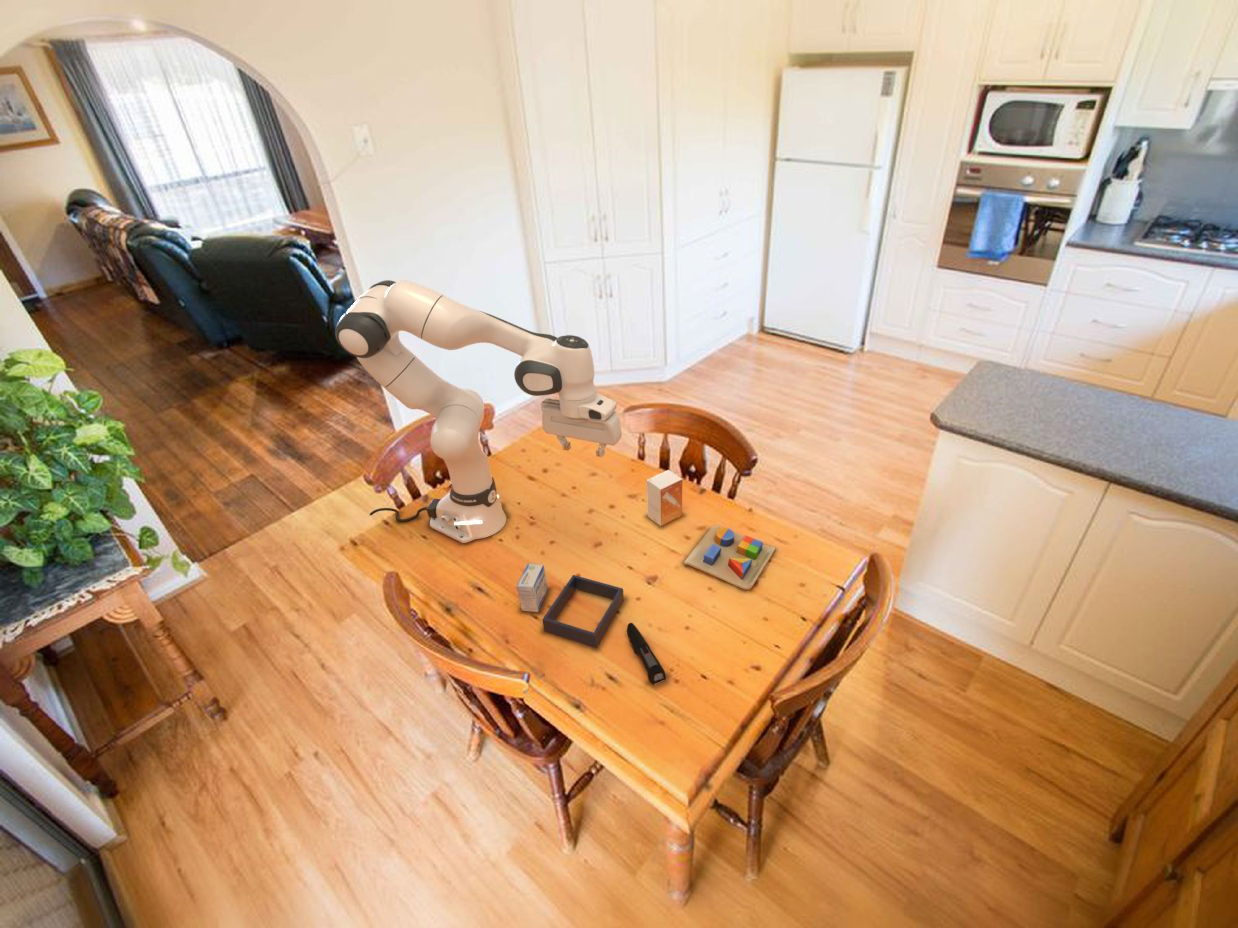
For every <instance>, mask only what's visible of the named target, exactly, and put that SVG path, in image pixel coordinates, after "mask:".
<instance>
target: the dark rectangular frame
mask: <svg viewBox="0 0 1238 928" xmlns="http://www.w3.org/2000/svg"><path fill="white" fill-rule="evenodd" d="M576 590H578V591H582V592H585V593H589V594H592V595H595V596H598V597H599V596H600V597H603V598H607V599H610V600H612V601H611V603H609V606H608V608H607V609H606V611H605V612H604V614H603V616H602V618H601V620H600V621H599V623H598V625H597V626H596V628H595V630H594V631H590V630H587V629H584V628H580V627H578V626H574V625H572V624H571V625H570V624H567V623H565V622H562V621H558V620H557V619H558V617H559V616H560V614H561V612H562V611H563V609H564V608H565V607H566V605H567V603H568V602H569V600H570V599H571V597H572V596H573V594H574V593H575V591H576ZM624 601H625V597H624V588H622V587H619V586H615V585H611V584H608V583H604V582H601V581H597V580H593V579H590V578H587V577H582V576H579V575H576V574H573V575H571V577H570V579H569V580H568V581H567V583H566V584H565V586H564V587H563V589H562V590H561V592H560V593H559V595H558V596H557V597H556V599H555V600H554V601H553V603H552V605H551V606H550V608H549V609H548V611H547V612H546V614H545V615H544V616H543V618H542V620H541V621H542V626H543V629H544V630H543V631H544V632H546V633H549V634H552V635H555V636H558V637H561V638H565V639H568V640H569V641H570V640H571V641H574V642H577V643H580V644H583V645H586V646H589V647H592V648H598V647H599V645H600V643H601V641H602V639H603V637H604V636H605V634H606V633H607V631H608V629H609V627H610V626H611V623H612V622H613V620H614V618H615V617H616V615H617V613H618V612H619V610H620V608H621V606H622V605H623V602H624Z"/></svg>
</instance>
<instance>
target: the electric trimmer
mask: <svg viewBox="0 0 1238 928" xmlns="http://www.w3.org/2000/svg"><path fill="white" fill-rule="evenodd" d="M626 626H627V627H626V633H627V637H628V640H629V642H630V644H631V647H632V649H633V652H634V654H635V655H637V656H638V657H639V658H640V661H641V662H642V664H643V666H644V668H645V670H646V673H647V677H648V680H649V682H650V683H652V685H657V684H660V683H662V682H665V681H666V679H667V676H666V672H665V669H664V668H663V666H662V665H661V663H660V661H659V660H658V659H657V657H656V655H655V653H654V652H653V651H652V650H651V646H650V645H649V643H648V642H647V641H646V639H645V638H644V636H643V635H642V633H641V632H640V630H639V629H638V627H637V626H636V625H635V624H634V623H633V622H629V623H628V624H627V625H626Z"/></svg>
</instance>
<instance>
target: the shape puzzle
mask: <svg viewBox="0 0 1238 928" xmlns="http://www.w3.org/2000/svg"><path fill="white" fill-rule="evenodd" d="M775 551H776V547H775V546H770V545H766V544H765V543H764V542H763V541H761V540H759V539H756V538H754V537H751V536H749V535H742V534H740V533H738V532H735V531H734V530H733V529H731V528H729V527H723V526H720V525H717V524H715V525H712V526H711V527H710V528H709V529H708V530H707V532H706V533H705V534H704V536H703V537H702V538H701V540H700V541H699V542H698V543H697V544H696V546H695V547H694V549H693V550H692V551H691V552H690V553H689V555H688V556H687V558H685V560H684V561H683V565H686V566H690V567H692V568H695V569H697V570H699V571H702V572H703V573H706V574H708V575H711V576H712V577H715V578H717V579H719V580H721V581H724V582H726V583H729V584H730V585H733V586H735V587H738V588H739V589H741V590H745V591H747V590H750V589H751V588H753V586H754V585H755V584H756V583H757V580H758V578H759V577H760V575H761V573H762V572H763V570H764V569H765V567H766V566H767V564H768V563H769V560H770V558H771V557H772V556H773V555H774V552H775Z"/></svg>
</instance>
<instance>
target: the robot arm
mask: <svg viewBox="0 0 1238 928" xmlns="http://www.w3.org/2000/svg"><path fill="white" fill-rule="evenodd" d="M400 331H401V332H402V331H403V332H406V333H408V334H411V335H413V336H415V337H417V338H418V339H420V340H422V341H424V342H425V343H428V344H430V345H431V346H433V347H434V346H435V347H437V348H440V349H443V350H447V351H456V350H459V349H460V350H461V349H463V348H466V347H467V346H468V347H469V346H472V345H475V344H483V343H486V344H492V345H495V346H497V347H499V348H502V349H504V350H505V351H509V352H511V353H514V354H516V355H519V356H520V357H521V358H520V360H518V361H519V362H518V363H517V365H516V367H515V368H514V374H513V375H514V380H515V383H516V385H517V386H518V388H519V389H520V390H521V391H522V392H523V393H525V394H527V395H529V396H535V397H541V396H542V397H543V396H549V395H555V394H558V399H557V398H556V399H553V398H551V397H545V399H543V400H542V401H541V403H540V407H541V411H542V415H541V416H542V417H541V425H542V426H541V427H542V430H543V432H544V433H545V434H547V435H548V434H549V435H554V436H556V439H557V440H558V442H559V443H560V444H561V446H562V447H561V448H562V450H563V451H569V450H571V447H572V445H571V441H568V439H569V438H570V439H574V440H581V441H586V442H590V443H591V442H592V443H597V444H598V445H599V447H597V449H596V450H595V454H596V457H597V458H603V457H604V456H605V453H606V452H605V449H606V447H607V446H612V447H614V446H616V444H618V443H619V442H620V440H621V439H622V425H621V420H620V419H621V418H620V416H619V415H618V413H617V412H616V409H617V403H616V401H615V400H612V399H611V398H609V397H606V396H605V395H603V394H601V393H599V392H597V388H596V386H595V383H594V379H595V366H594V358H593V354H592V350H591V346H590V345H589V342H587V340H586V339H584V338H582V337H581V336H579V335H578V336H577V335H574V334H573V335H572V334H570V335H569V334H566V335H561V336H559V337H558V336H555V335H552V334H549V333H548V334H547V333H538V332H534V331H531V330H528V329H526V328H523V327H521V326H519V325H516V324H514V323H512V322H510V321H507V320H505V319H502V318H500V317H497V316H495V315H493V314H491V313H487V312H484V311H481V310H478V309H476V308H473V307H470V306H467V305H465V304H462V303H460V302H458V301H456V300H454V299H452V298H450V297H447V296H446V295H444V294H442V293H439V292H438V291H436V290H434V289H431V288H429V287H426V286H424V285H421V284H418V283H416V282H412V281H408V280H398V281H394V280H391V279H386V280H381V281H378V282H376V283H374V284H372V285H371V286H370V287H369V288H368V290H366V291H365V292H363V294H361V295H360V296H359V297H357V298H356V299H355V300H354V302H353V304H352V305H351V306H350V307H349V308H348V309H347V311H346V312H345V313H343V315H342V316H341V317H340V318H339V320H338V321H337V323H336V326H335V329H334V335H335V339H336V342H337V343H338V344H339V346H340V347H341V349H343V350H344V351H345V352H346V353H348V354H349V355H351V356H353V357H355V358H356V359H357V361H358V362H359V363H360V365H361V366H362V367H363V368H364V369H365V370H366V372H367V373H368V374H369V375H370V376H371V377H372V378H373V379H374V380H375V381H376V382H377V383H378V384H379V385H380V386H381V387H383V388H384V389H385V390H386V391H387V392H388V393H389V394H391V395H392V396H393V397H394V398H395V399H396V400H398V401H399V402H400V403H401V404H402V405H403V406H404V407H406V408H407V409H409V410H420V411H423V412H425V413H427V414H429V415H431V416H432V417H434V418H435V421H434V423H433V425H432V427H431V432H430V439H429V440H430V441H429V445H430V448H431V450H432V452H433V453H434V455H436V456H437V457H439V458H440V459H441V460H443V462H444V464H445V465H446V468H447V472H448V475H449V479H450V482H449V485H447V487H445V489H444V490H445V493H447V492H448V493H447V494H445V495H444V496H443V497H442V498H432V500H431V502H430V503H429V505H428V506H424V507H421V508H419V509H418V510H417V512H416V514H415V515H413V516H411V517H408V518H400V517H399V515H400V512H399V510H398V509H395V508H392V507H391V508H390V507H379V508H376V509H374V510H372V511H371V512H370V513H369V516H373V515H374V514H376V513H378V512H385V511H389V512H393V513H395V520H396V521H397V522H399V523H405V522H409V521H413V520H415V519H416V518H418V517H419V516H420V513H421V512H423V511H426V514H427V517H428V518H429V519H430V518H431V519H430V521H429V527H430V528H431V529H433V530H435V531H437V532H439V533H442V534H443V535H445V536H447V537H449V538H452V539H454V540H456V541H458V542H460V543H462V544H467V543H470V542H472V541H474V540H475V541H476V540H479V539H480V540H481V539H485V538H488V537H490V536H493V535H495V534H497V533H498V532H500V531H501V530H502V529H503V528H504V527H505V525H506V523H507V515H506V514H505V513H506V512H504V509H503V505H502V503H501V502H500V500H499V498H500V495H499V494H498V493H497V486H496V481H495V478H494V477H493V475H492V471H491V466H490V461H489V456H488V455H487V453H485V452H484V451H483V450H482V447H481V445H480V440H479V439H480V438H479V435H480V429H481V427H482V424H483V421H484V418H485V402H484V400H483V397H482V396H481V395H480V394H479V393H478V392H476V391H475V390H473V389H470V388H461V387H458V386H456V385H455V384H453V383H451V382H449V381H447V380H446V379H444V378H442V377H441V376H440V375H438V374H437V373H435V372H434V370H432V369H431V368H430V367H429V366H428V365H426V363H424V362H423V361H422V360H421V359H420V358H419V357H418V356H416V355H415V354H414V353H413V352H412V351H411V350H410V349H409V348H407V347H406V346H405V345H404V344H403V343H402V341H401V339H400V337H399V335H400V334H399V333H400ZM567 438H568V439H567Z"/></svg>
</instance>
